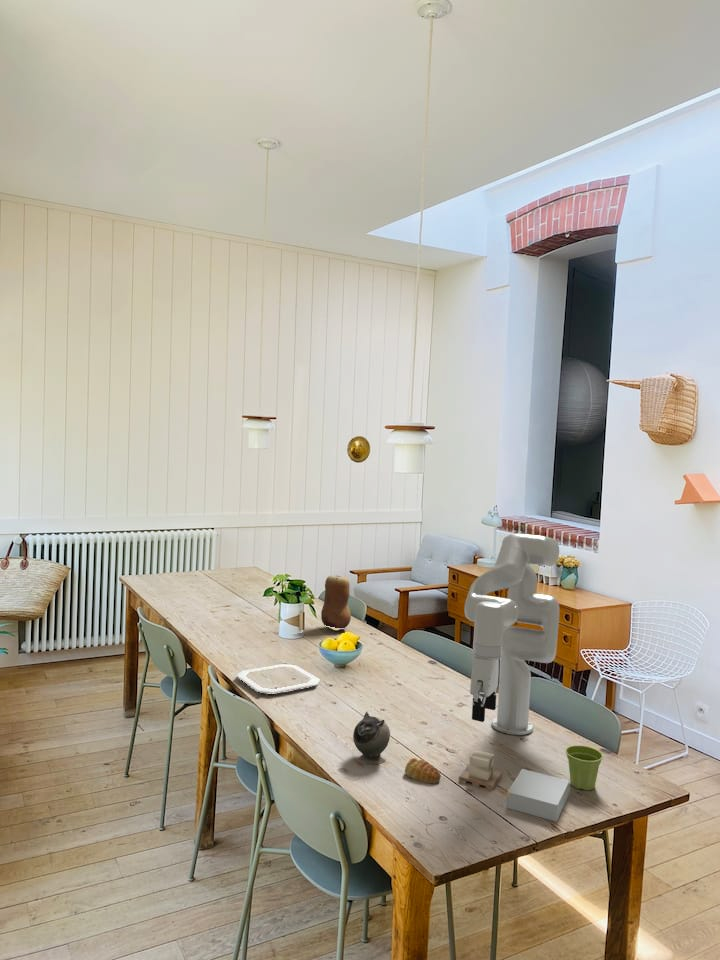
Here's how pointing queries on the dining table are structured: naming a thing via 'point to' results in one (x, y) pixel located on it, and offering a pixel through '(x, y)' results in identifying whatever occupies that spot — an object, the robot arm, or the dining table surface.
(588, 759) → the plant pot
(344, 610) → the butternut squash
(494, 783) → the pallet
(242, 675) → the white square frame
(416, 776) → the pastry
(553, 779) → the dock
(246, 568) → the dining table surface
